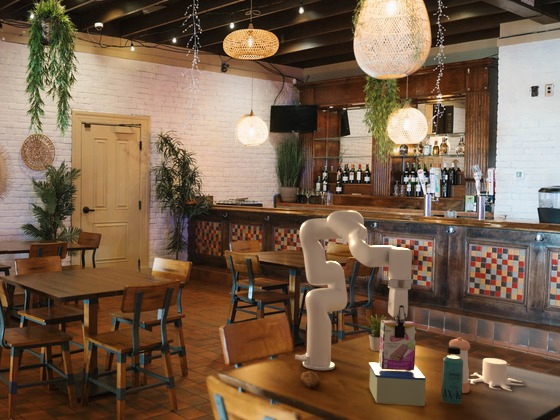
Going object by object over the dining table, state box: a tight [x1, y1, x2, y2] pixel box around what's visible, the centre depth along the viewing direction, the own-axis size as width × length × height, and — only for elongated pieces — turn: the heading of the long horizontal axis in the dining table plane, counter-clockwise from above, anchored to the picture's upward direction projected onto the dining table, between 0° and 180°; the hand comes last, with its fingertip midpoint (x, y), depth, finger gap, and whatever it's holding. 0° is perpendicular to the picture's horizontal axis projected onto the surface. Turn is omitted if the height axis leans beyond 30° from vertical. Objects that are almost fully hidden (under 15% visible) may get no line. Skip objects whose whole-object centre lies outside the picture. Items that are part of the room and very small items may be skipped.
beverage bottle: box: [440, 346, 464, 405], centre depth 218 cm, size 6×7×20 cm
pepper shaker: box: [448, 336, 471, 394], centre depth 235 cm, size 7×7×19 cm
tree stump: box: [468, 357, 525, 392], centre depth 245 cm, size 20×19×8 cm
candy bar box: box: [378, 319, 417, 371], centre depth 225 cm, size 11×5×16 cm, turn 84°
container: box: [369, 367, 427, 407], centre depth 226 cm, size 16×16×9 cm
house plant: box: [363, 314, 392, 352], centre depth 288 cm, size 14×14×16 cm
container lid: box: [368, 362, 427, 380], centre depth 226 cm, size 16×16×1 cm
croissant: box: [300, 370, 320, 389], centre depth 240 cm, size 14×7×5 cm, turn 174°
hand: (397, 335), depth 225 cm, fingers closed on candy bar box, 5 cm apart
